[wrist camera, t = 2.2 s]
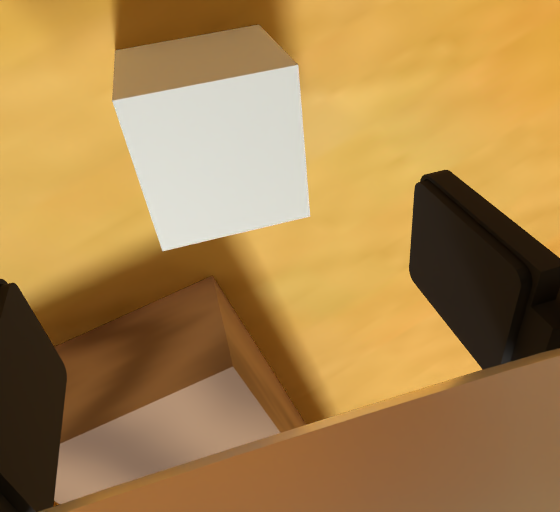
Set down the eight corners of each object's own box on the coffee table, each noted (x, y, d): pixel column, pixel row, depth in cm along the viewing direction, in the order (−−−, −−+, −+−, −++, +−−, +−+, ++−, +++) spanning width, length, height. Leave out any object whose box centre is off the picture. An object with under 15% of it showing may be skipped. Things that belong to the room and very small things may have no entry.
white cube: (258, 23, 17) (298, 64, 13) (274, 152, 20) (309, 216, 16) (115, 49, 16) (111, 100, 12) (155, 178, 19) (162, 251, 15)
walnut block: (211, 271, 23) (233, 366, 19) (315, 438, 35) (345, 522, 30) (25, 355, 23) (1, 470, 19) (190, 493, 35) (200, 585, 30)
